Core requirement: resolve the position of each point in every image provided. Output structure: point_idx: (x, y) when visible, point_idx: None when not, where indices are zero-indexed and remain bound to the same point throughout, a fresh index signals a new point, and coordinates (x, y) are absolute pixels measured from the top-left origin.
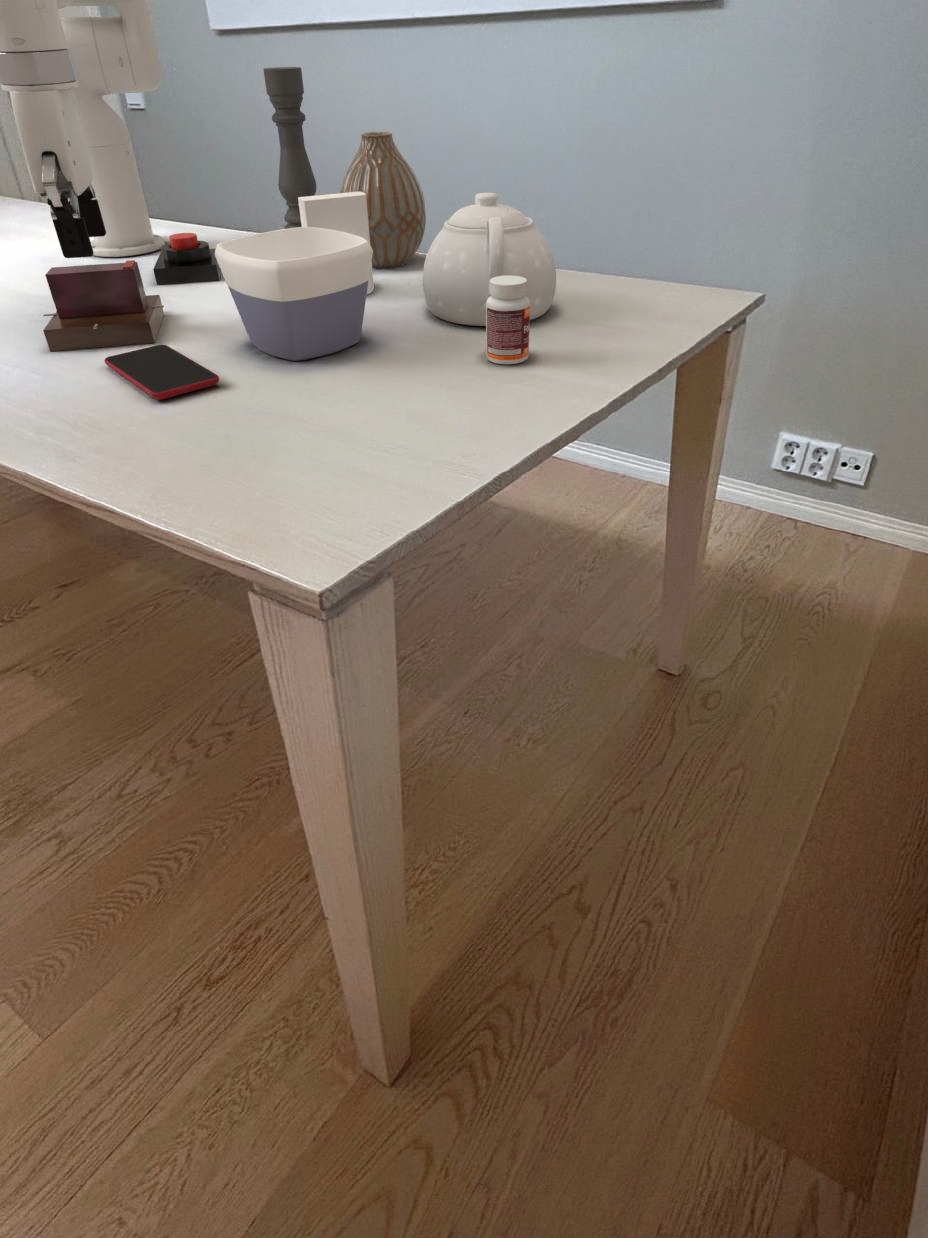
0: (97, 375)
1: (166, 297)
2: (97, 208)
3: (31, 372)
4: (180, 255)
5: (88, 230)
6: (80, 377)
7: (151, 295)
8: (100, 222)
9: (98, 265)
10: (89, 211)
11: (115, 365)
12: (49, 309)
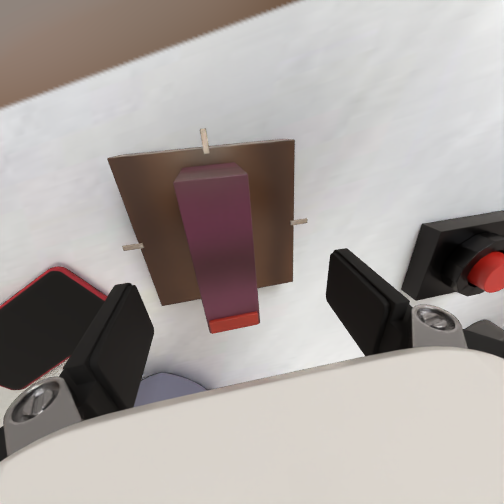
0: (23, 260)
1: (357, 250)
2: (358, 345)
3: (6, 155)
4: (455, 267)
5: (335, 279)
6: (8, 241)
7: (290, 273)
8: (339, 317)
9: (246, 271)
10: (358, 323)
11: (26, 291)
12: (368, 72)
